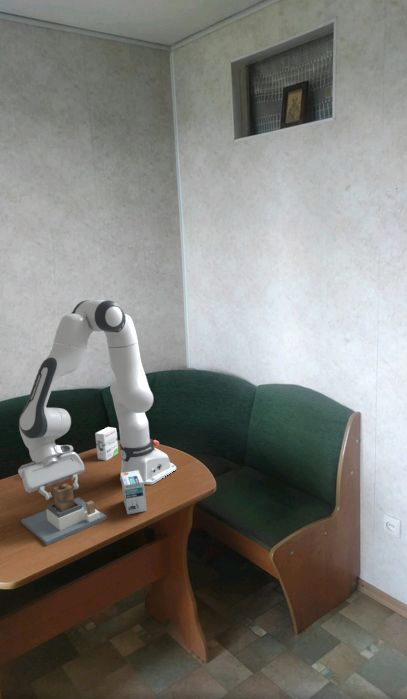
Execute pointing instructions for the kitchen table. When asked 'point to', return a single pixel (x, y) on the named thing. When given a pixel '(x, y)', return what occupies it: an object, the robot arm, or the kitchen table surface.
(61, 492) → the walnut block
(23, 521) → the build plate
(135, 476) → the light bulb box
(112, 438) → the ink box
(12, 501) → the kitchen table surface
